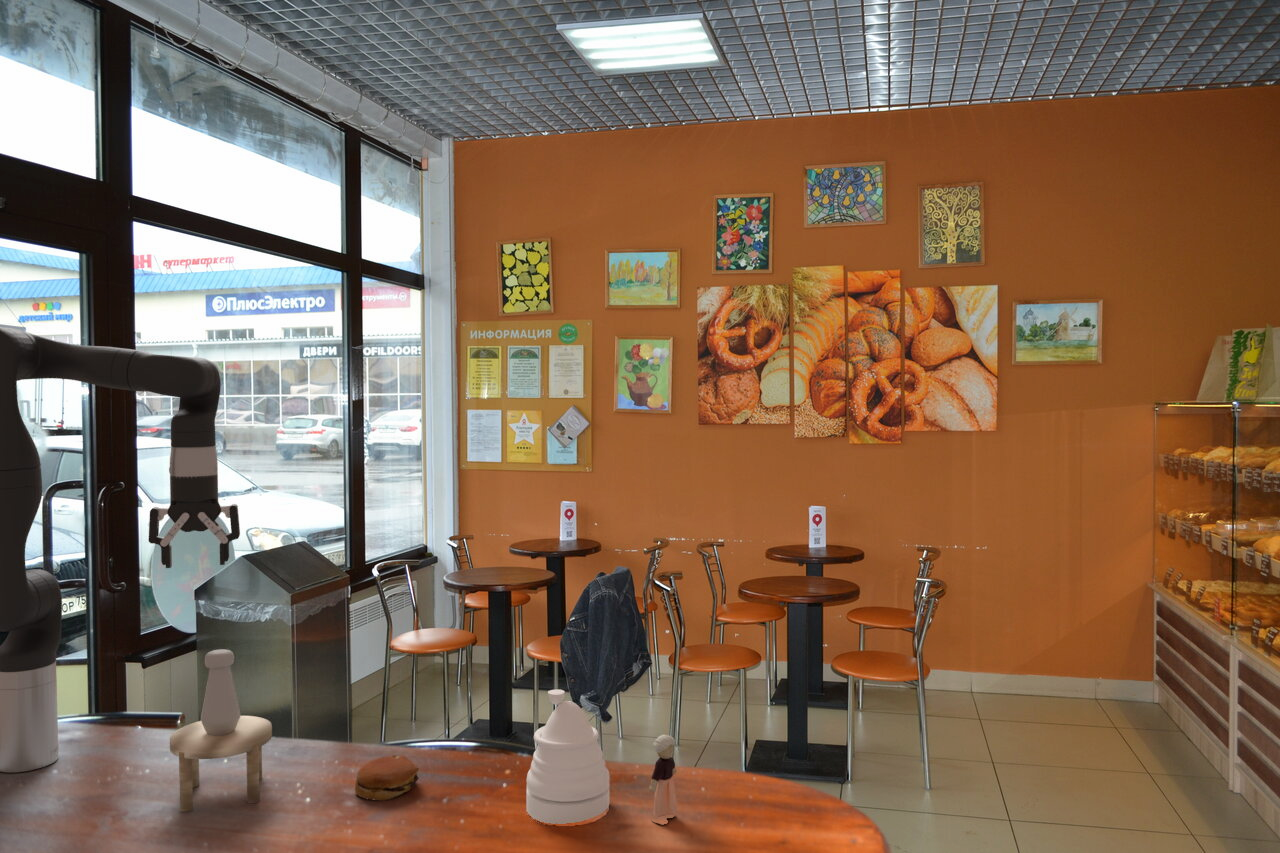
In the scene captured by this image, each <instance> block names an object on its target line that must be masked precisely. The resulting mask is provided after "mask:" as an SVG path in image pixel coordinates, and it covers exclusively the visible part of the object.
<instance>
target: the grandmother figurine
mask: <svg viewBox="0 0 1280 853" xmlns="http://www.w3.org/2000/svg"><path fill="white" fill-rule="evenodd" d="M675 744H676V740H675V738H674V737H673V736H671V735H667V734H661V735H659V736H658V737H657V738H656V739H655V740H654V742H653V743H652V747H654V750H655V752H656V754H657V756H658V757H659V758H658V759H657V760H656V761H655V764H654V770H653V772H652V776H651V778H650V779H651V780H650V786H649V787H648V791H649V793H651V794H652V793H654V798H653V815H654V816H657V817H661V816H665V815H674V814H676V813H677V812H678V802H677V795H676V790H675V789H676V788H675V782H674V777H673V776H675V775H676V774H677V773H678V772H677V769H676V763H675V760H674V758H673V757H672V756H673V755H674V750H675V749H674V746H675ZM677 814H678V813H677ZM677 814H676V815H677Z"/></svg>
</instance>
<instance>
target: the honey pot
mask: <svg viewBox="0 0 1280 853" xmlns="http://www.w3.org/2000/svg"><path fill="white" fill-rule="evenodd" d="M547 695H548V699H549V701H550V703H552V704H553V705H558V706H556V707H555V709H554V710H553V711H552V713H551V714H550V716H549V718H548V720H547V722H546V724H545V725H544V726H541V727H540V728H538V729H537V730H536V731H535V732H534V735H533V740H534V741H535V743H536V744H537V747H536V749H535V751H534V752H533V755H532V761H531V762H530V763H531V764H530V768H529V770H528V772H527V775H526V780H525V781H526V802H525V803H526V805H525V806H526V813H527V812H528V813H527V815H528V814H529V815H530V816H531V817H532V818H533V819H536V820H538V821H540V822H544V823H551V824H556V823H557V824H566V823H575V822H581V821H584V820H588V819H590V818H593V817H595V816H597V815H600V814H601V813H603V812H604V811H605V810H606V809H607V808H608V806H609V804H610V796H611V795H610V772H609V769H608V768H607V766H606V761H605V759H604V757H603V756H604V752H603V750H602V749H601V748H600V744H599V742H598V739H599V735H600V734H599V731H598V729H597V728H595V727H594V726H592V725H591V723H590V720H589V719H588V717H587V715H586V714H585V712H584V710H582V708H581V707H580V706H579V705H578V704H577V703H575V702H573V701H570V700H564V698H565V690H563V689H560V688H559V689H550V690H548V692H547ZM532 818H531V819H532ZM533 819H532V820H533Z"/></svg>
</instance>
